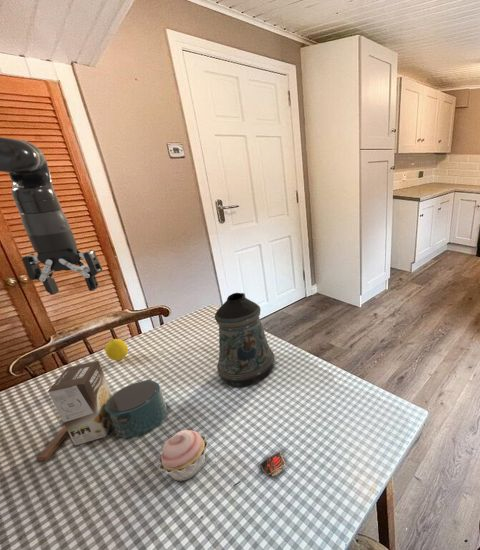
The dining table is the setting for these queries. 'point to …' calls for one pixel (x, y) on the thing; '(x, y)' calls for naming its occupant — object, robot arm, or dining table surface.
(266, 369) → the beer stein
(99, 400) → the coffee box
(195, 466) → the cupcake
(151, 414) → the enamel pot
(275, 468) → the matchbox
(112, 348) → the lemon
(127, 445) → the dining table surface
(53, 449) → the wooden spoon
